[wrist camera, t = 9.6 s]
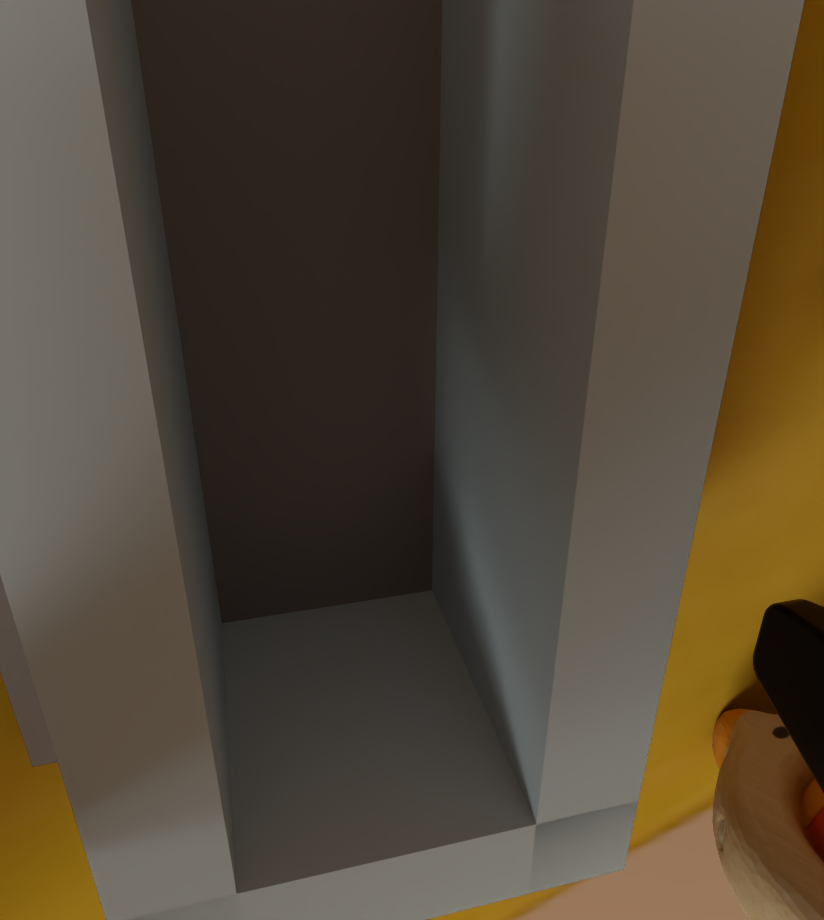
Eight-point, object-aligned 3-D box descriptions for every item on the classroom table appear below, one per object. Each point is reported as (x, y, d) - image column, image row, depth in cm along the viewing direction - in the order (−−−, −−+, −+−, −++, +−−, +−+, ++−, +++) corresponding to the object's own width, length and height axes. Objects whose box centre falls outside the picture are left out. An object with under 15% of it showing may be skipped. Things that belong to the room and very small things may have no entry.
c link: (501, 638, 14) (624, 869, 10) (147, 699, 12) (129, 994, 9) (577, -390, 8) (979, -846, 4) (-109, -486, 6) (-590, -1339, 2)
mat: (593, 644, 15) (602, 658, 15) (36, 747, 13) (32, 766, 12) (773, -650, 7) (802, -684, 7) (-518, -932, 5) (-571, -1004, 5)
